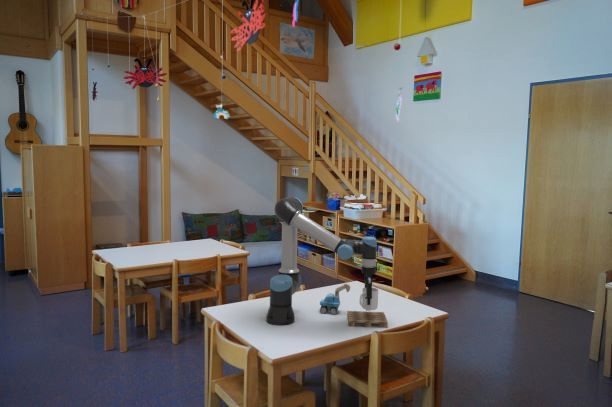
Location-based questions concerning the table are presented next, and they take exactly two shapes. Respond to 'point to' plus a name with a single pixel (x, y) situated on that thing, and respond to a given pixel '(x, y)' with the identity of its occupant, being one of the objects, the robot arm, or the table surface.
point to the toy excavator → (333, 300)
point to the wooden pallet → (367, 318)
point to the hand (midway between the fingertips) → (367, 307)
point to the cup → (373, 301)
